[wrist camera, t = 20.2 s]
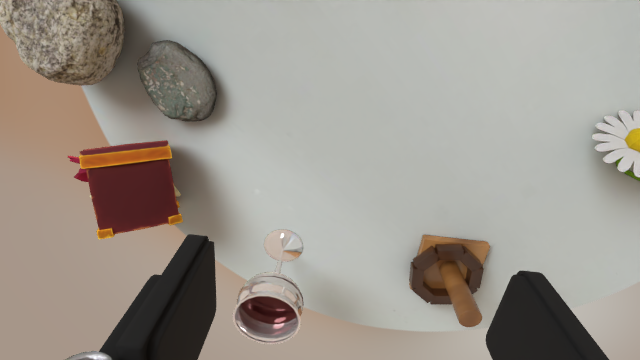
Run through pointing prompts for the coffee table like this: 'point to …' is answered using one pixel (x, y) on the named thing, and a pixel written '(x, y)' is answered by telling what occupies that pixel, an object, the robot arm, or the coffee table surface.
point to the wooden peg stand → (455, 277)
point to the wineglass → (271, 296)
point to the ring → (435, 255)
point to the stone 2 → (177, 81)
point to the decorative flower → (621, 142)
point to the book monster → (130, 186)
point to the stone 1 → (66, 37)
